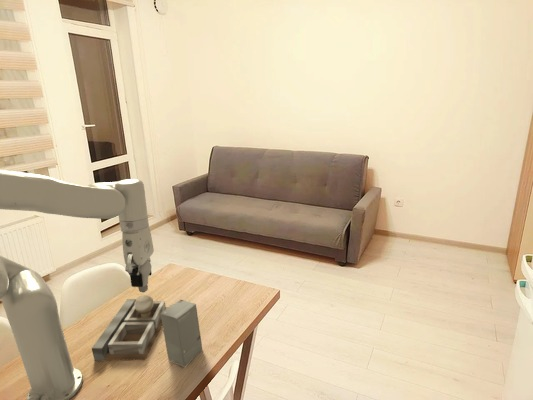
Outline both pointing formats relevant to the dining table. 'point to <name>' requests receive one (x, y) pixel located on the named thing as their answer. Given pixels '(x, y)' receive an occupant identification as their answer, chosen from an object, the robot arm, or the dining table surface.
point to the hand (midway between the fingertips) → (141, 280)
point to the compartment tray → (131, 331)
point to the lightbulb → (144, 274)
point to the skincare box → (181, 332)
